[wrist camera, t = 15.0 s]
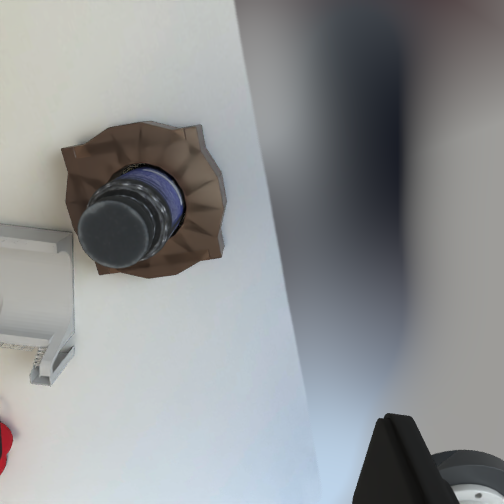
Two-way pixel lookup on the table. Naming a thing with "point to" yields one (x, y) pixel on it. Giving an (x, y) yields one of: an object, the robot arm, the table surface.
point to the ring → (173, 162)
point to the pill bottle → (131, 217)
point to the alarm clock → (5, 445)
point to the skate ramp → (37, 296)
